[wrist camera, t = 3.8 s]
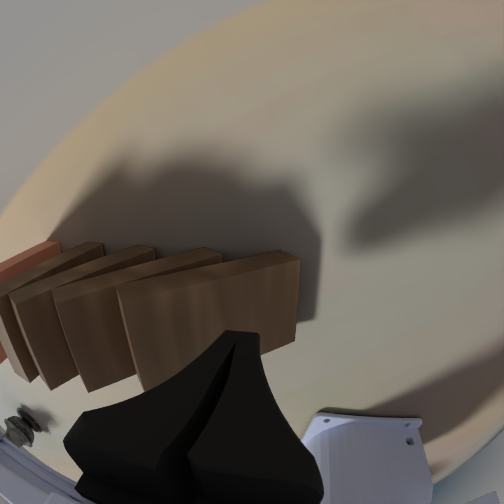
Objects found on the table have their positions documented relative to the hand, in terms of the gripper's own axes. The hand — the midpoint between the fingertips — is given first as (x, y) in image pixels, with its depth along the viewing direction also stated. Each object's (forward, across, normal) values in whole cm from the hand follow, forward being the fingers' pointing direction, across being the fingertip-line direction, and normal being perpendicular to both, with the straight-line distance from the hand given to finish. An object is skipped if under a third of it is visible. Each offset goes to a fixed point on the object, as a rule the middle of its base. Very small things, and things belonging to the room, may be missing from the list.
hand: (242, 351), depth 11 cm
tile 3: (+5, +6, 0) cm, 8 cm away
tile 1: (+5, -2, 0) cm, 5 cm away
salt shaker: (+6, +35, +27) cm, 45 cm away
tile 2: (+5, +2, 0) cm, 6 cm away
